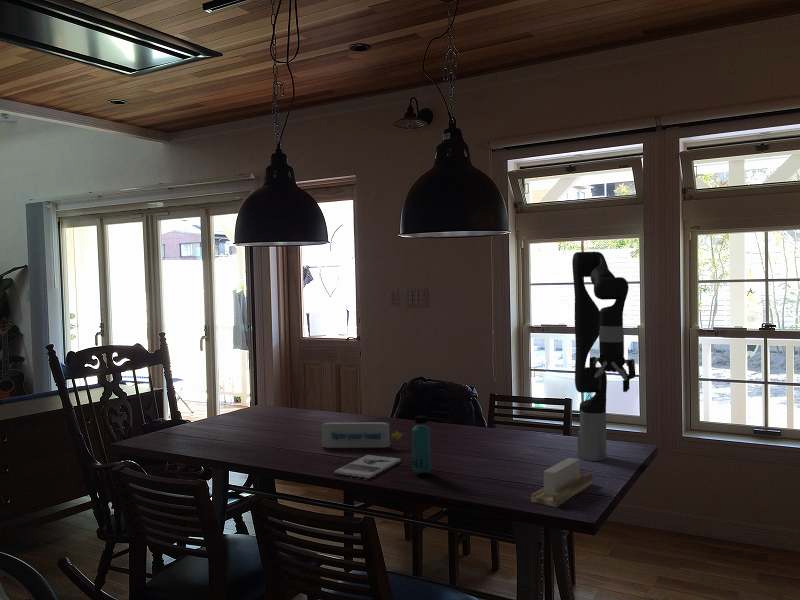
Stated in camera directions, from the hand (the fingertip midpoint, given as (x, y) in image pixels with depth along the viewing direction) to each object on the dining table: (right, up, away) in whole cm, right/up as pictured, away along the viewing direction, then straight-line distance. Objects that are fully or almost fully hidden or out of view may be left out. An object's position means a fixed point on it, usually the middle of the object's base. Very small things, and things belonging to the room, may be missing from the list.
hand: (612, 390), depth 206 cm
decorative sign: (-83, -31, +52) cm, 102 cm away
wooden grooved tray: (-18, -30, -8) cm, 36 cm away
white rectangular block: (-18, -29, -8) cm, 35 cm away
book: (-79, -32, +23) cm, 88 cm away
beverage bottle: (-60, -31, +14) cm, 69 cm away
